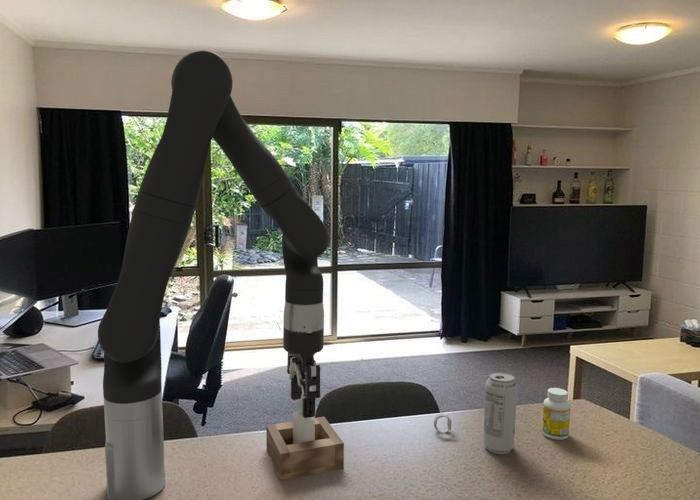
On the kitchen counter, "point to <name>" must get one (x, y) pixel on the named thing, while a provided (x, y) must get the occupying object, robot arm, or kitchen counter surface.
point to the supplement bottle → (556, 414)
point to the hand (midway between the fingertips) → (302, 407)
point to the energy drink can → (500, 413)
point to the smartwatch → (447, 422)
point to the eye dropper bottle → (302, 425)
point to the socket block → (304, 450)
